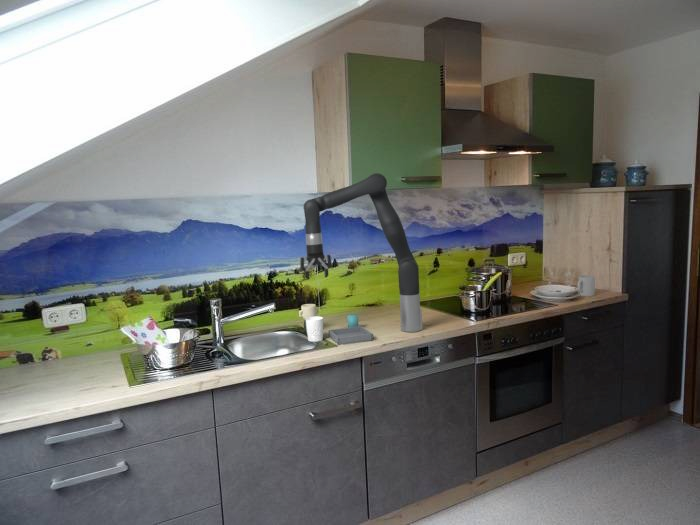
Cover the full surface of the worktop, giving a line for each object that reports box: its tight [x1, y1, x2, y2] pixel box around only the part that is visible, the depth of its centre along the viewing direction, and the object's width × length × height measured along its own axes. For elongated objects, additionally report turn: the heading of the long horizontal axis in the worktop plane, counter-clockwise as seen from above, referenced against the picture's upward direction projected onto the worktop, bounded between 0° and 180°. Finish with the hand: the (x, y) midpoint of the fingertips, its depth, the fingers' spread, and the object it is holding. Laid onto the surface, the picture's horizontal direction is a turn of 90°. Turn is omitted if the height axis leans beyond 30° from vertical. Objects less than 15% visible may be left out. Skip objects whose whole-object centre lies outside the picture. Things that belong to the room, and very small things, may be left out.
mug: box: [577, 275, 596, 297], centre depth 296 cm, size 12×8×11 cm
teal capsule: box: [346, 313, 360, 328], centre depth 244 cm, size 5×5×7 cm
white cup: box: [306, 315, 324, 343], centre depth 228 cm, size 8×8×10 cm
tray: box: [328, 325, 374, 346], centre depth 228 cm, size 16×16×3 cm
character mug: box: [298, 303, 320, 333], centre depth 243 cm, size 11×7×13 cm, turn 127°
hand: (317, 278), depth 233 cm, fingers open, 8 cm apart
